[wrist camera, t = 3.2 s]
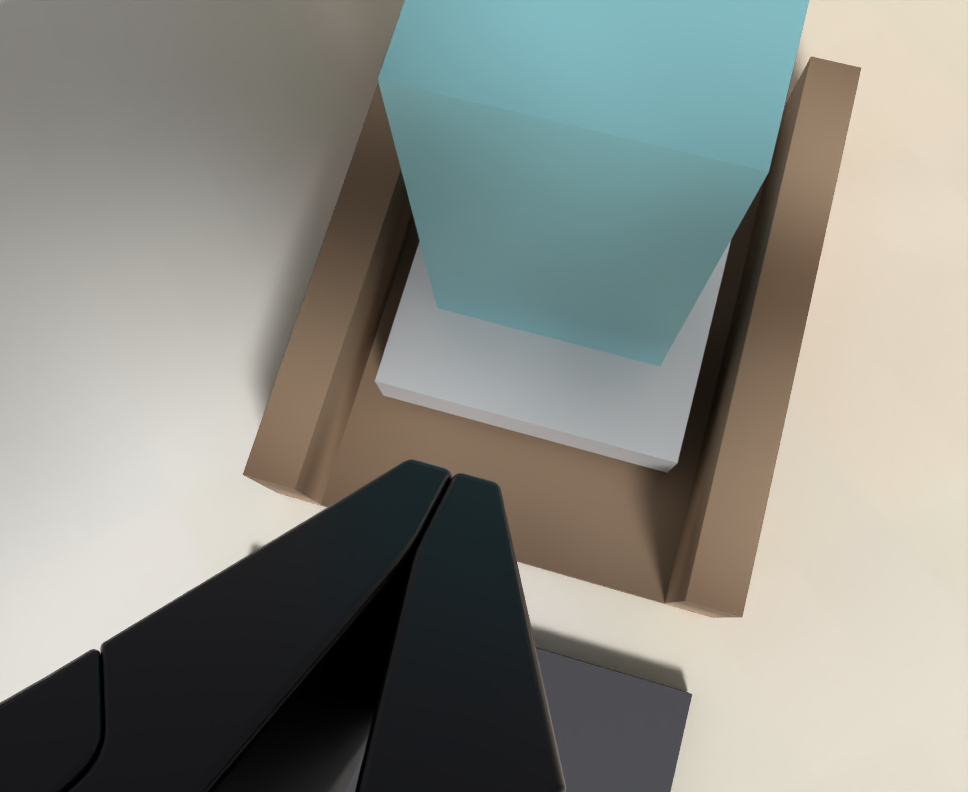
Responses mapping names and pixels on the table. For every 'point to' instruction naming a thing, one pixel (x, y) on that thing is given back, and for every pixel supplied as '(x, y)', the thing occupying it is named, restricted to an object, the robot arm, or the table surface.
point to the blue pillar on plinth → (576, 204)
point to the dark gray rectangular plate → (609, 727)
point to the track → (553, 466)
